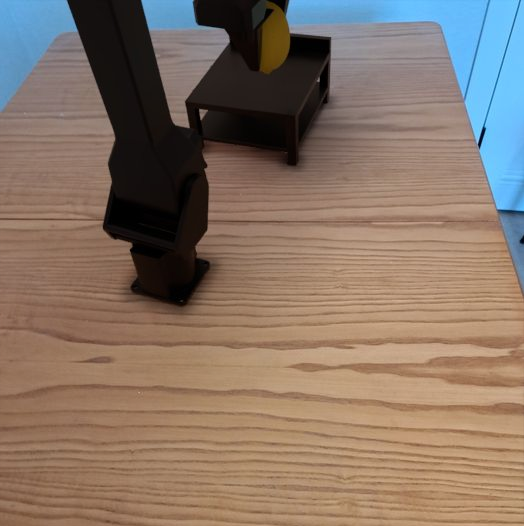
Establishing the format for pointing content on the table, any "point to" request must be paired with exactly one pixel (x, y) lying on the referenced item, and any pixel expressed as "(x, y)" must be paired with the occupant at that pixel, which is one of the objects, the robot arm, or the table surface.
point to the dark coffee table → (263, 98)
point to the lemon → (274, 40)
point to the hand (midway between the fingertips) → (265, 58)
